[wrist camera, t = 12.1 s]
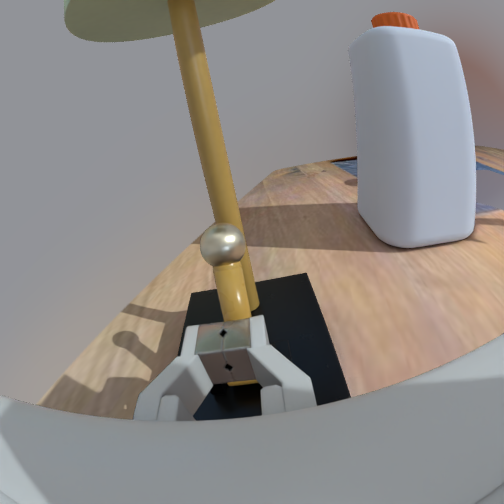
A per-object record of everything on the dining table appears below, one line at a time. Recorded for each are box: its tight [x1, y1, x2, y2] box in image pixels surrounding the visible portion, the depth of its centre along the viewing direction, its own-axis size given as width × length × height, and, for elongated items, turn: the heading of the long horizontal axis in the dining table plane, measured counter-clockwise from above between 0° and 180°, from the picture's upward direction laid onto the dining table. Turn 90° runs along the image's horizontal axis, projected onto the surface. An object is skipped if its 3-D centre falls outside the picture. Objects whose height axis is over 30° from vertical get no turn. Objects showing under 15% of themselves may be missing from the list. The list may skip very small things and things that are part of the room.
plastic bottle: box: [348, 12, 476, 248], centre depth 27 cm, size 15×15×28 cm
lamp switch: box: [200, 223, 258, 386], centre depth 14 cm, size 2×2×9 cm
